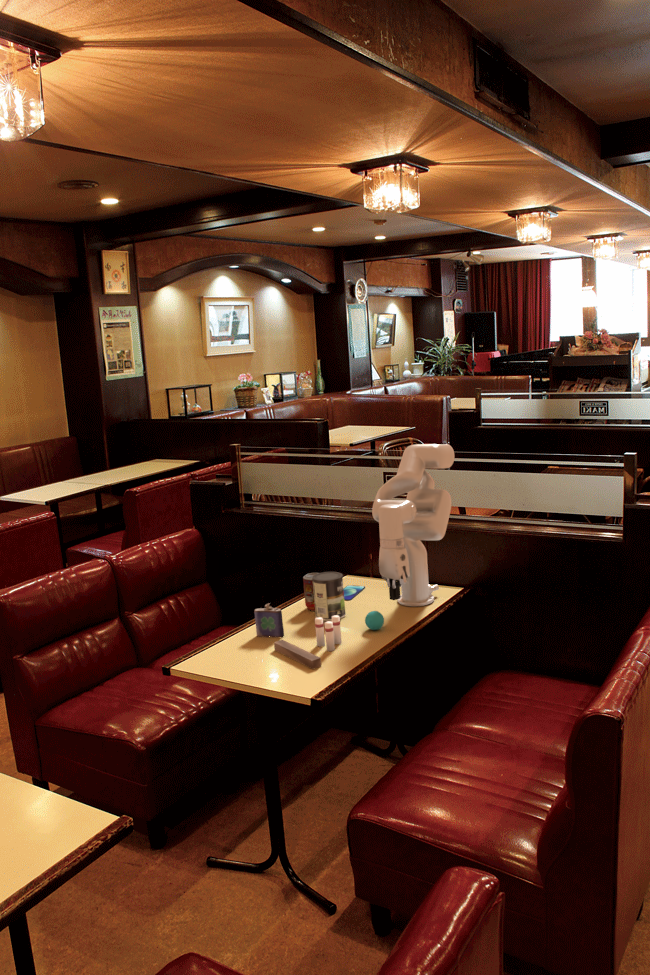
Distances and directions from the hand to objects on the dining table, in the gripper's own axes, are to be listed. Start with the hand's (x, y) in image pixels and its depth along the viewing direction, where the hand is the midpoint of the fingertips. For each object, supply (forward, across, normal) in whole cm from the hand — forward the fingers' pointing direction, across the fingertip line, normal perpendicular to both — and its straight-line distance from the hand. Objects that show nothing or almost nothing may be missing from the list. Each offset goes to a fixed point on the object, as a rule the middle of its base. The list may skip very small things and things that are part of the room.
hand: (395, 598), depth 240 cm
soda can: (+8, +32, +9) cm, 34 cm away
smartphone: (+8, +36, -9) cm, 37 cm away
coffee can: (+8, +22, +10) cm, 25 cm away
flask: (+9, +22, +34) cm, 42 cm away
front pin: (+9, +1, +23) cm, 25 cm away
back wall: (+9, +1, +38) cm, 39 cm away
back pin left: (+9, -2, +28) cm, 29 cm away
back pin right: (+9, +3, +28) cm, 29 cm away
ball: (+5, +1, +8) cm, 10 cm away
